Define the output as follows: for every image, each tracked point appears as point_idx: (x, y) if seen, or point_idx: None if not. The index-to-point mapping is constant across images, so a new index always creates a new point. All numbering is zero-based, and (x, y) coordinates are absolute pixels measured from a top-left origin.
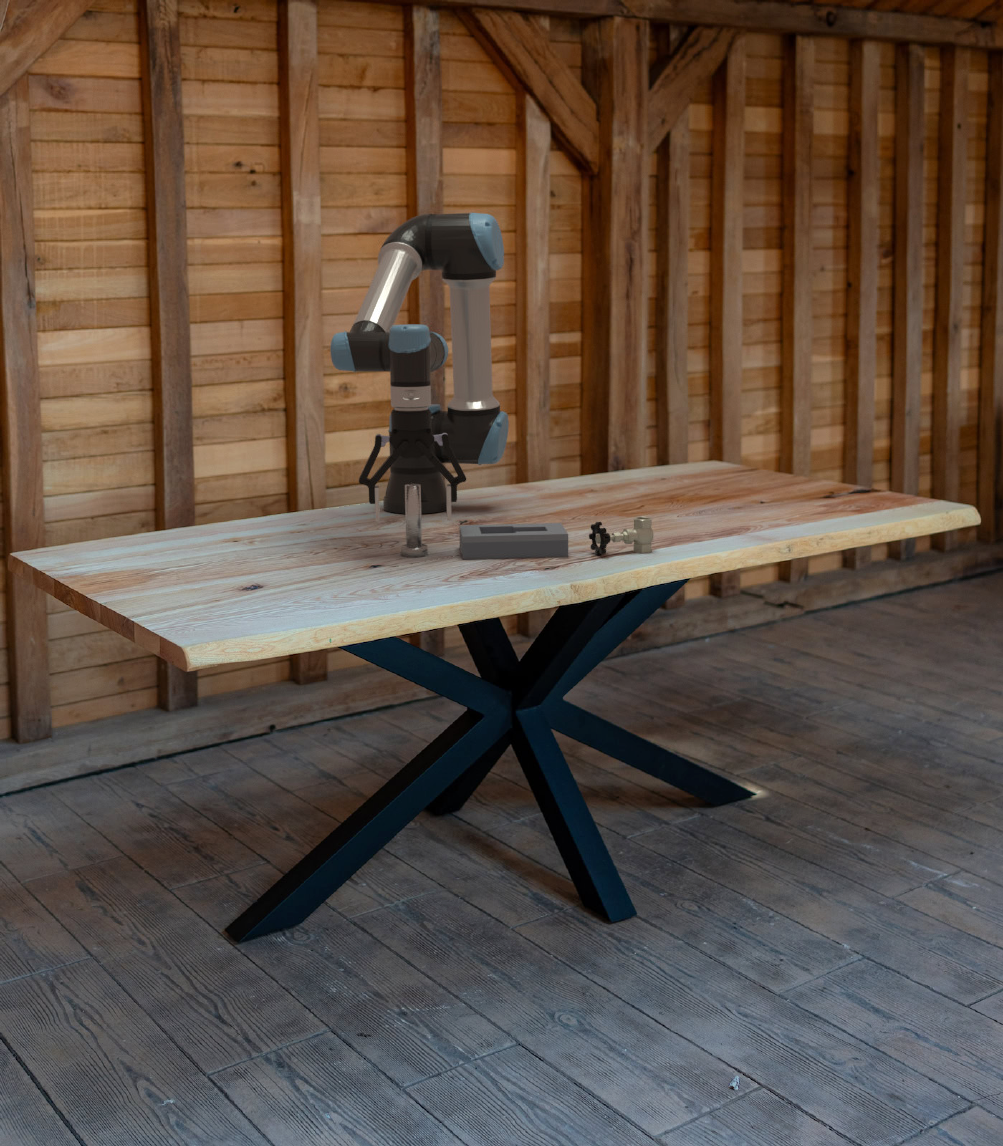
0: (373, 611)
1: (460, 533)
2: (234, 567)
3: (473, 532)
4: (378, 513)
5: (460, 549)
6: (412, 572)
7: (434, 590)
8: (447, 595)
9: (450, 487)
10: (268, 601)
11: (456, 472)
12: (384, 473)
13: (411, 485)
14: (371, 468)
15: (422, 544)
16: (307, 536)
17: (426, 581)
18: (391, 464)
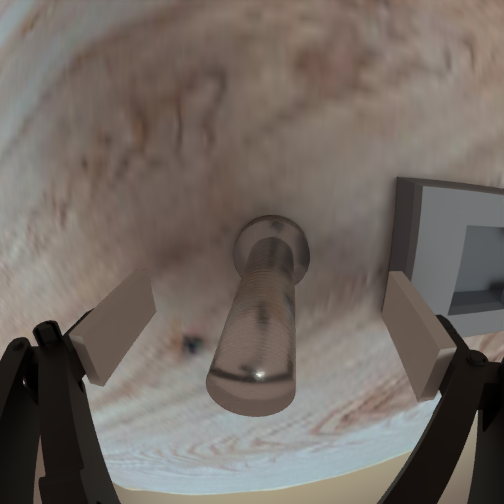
0: (226, 486)
1: (411, 241)
2: (11, 300)
3: (435, 299)
4: (142, 326)
5: (395, 216)
6: None
7: (293, 458)
8: (305, 469)
9: (430, 396)
10: (116, 443)
11: (477, 439)
12: (95, 436)
13: (243, 398)
14: (39, 435)
15: (296, 234)
16: (39, 53)
17: (286, 432)
18: (109, 483)
